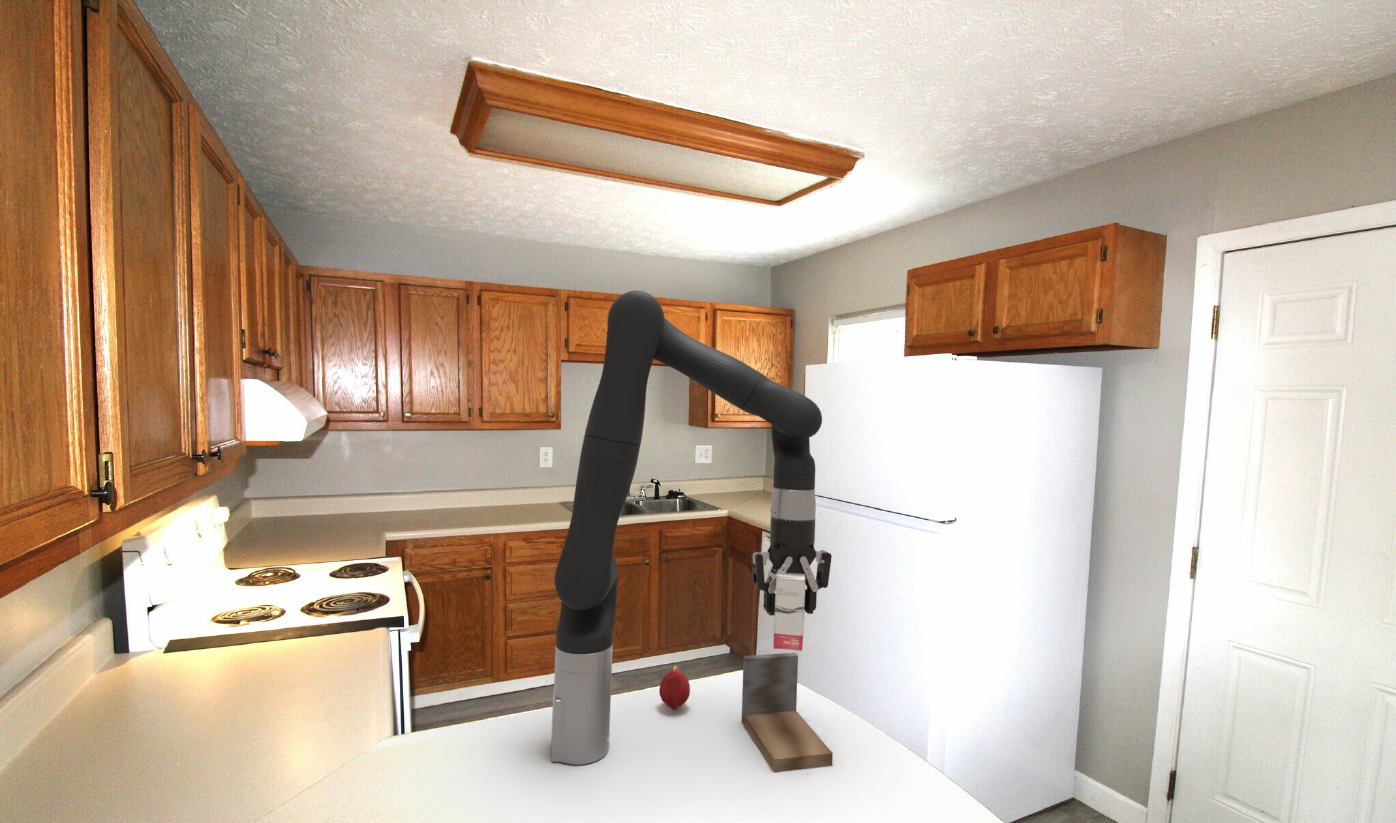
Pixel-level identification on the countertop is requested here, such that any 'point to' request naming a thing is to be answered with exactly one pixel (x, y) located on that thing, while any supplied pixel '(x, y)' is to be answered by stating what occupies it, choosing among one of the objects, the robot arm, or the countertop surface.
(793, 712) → the shelf board
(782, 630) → the ink box
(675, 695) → the onion
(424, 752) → the countertop surface
